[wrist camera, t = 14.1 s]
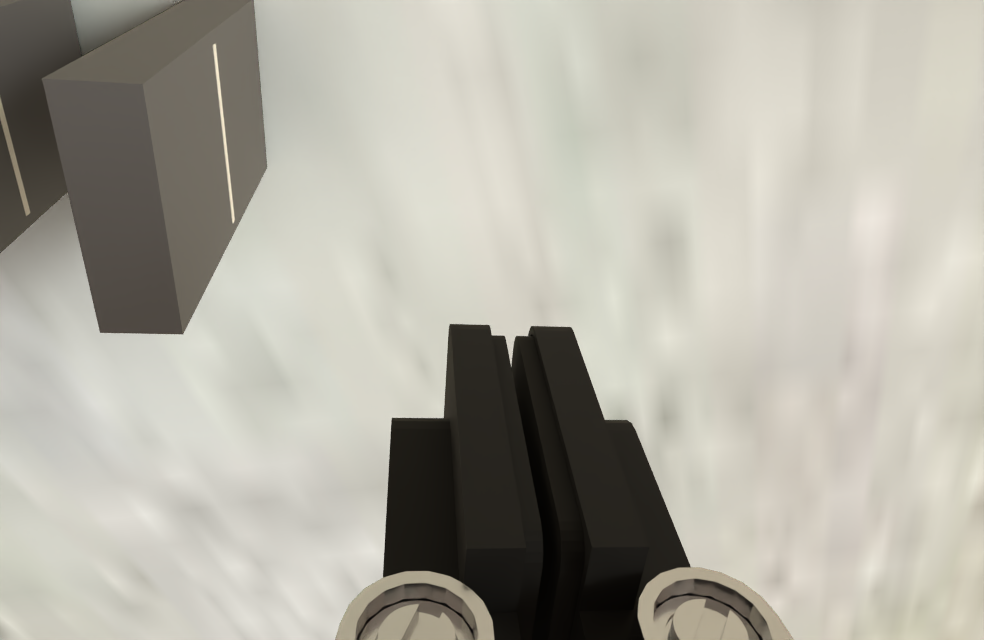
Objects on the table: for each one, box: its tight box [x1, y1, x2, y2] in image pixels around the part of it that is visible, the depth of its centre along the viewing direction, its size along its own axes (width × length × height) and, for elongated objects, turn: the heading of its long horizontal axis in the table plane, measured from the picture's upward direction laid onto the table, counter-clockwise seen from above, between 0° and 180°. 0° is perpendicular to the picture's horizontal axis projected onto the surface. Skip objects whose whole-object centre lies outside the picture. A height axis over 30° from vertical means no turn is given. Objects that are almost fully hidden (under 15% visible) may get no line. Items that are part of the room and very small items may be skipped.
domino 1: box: [42, 0, 267, 334], centre depth 18 cm, size 2×5×10 cm, turn 175°
